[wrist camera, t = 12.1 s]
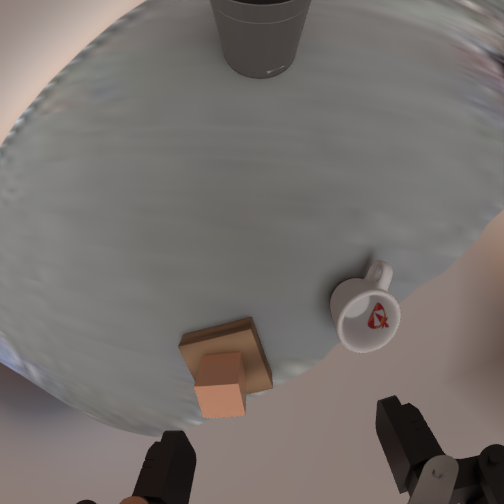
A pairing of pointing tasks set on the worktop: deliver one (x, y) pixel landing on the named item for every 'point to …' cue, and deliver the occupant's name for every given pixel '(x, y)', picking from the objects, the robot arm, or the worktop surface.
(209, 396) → the terracotta block
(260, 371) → the walnut block
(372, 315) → the cup
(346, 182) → the worktop surface
